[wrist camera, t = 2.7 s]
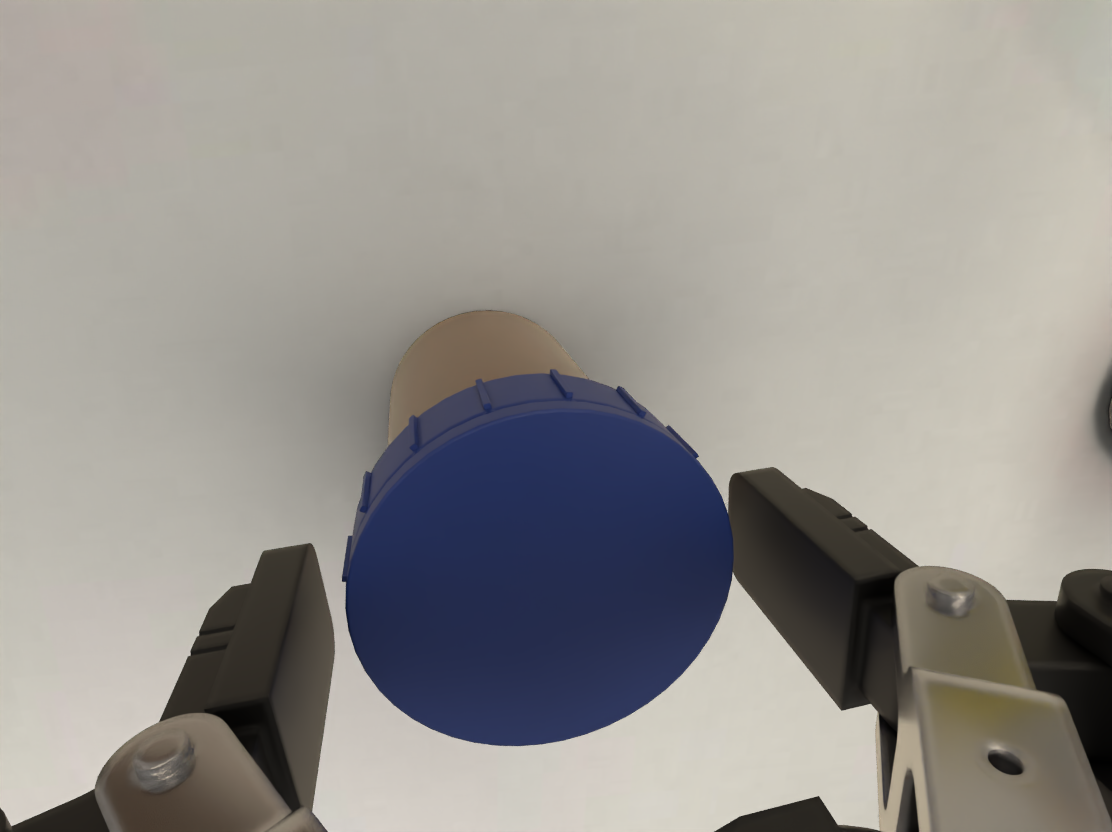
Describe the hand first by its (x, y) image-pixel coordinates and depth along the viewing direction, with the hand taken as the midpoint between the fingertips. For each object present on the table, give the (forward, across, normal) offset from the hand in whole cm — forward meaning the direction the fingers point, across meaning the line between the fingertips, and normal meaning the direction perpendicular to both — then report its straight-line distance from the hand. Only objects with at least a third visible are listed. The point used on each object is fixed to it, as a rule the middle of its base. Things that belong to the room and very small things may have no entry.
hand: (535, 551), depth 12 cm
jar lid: (-1, 0, 0) cm, 1 cm away
